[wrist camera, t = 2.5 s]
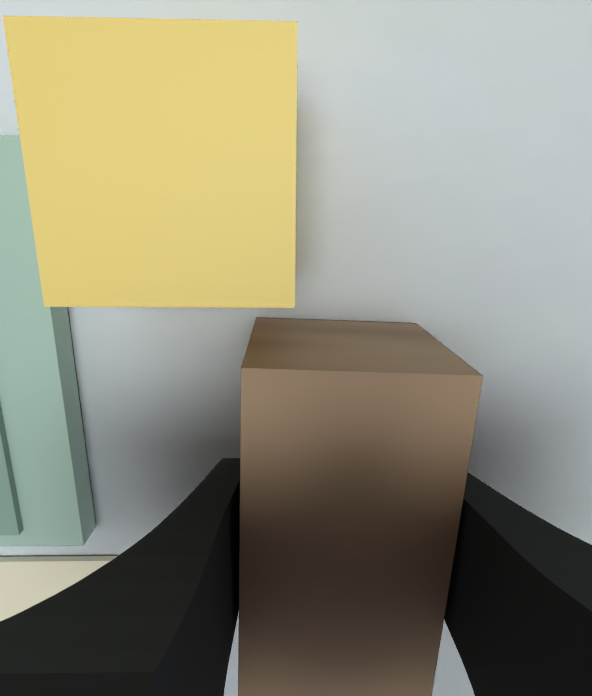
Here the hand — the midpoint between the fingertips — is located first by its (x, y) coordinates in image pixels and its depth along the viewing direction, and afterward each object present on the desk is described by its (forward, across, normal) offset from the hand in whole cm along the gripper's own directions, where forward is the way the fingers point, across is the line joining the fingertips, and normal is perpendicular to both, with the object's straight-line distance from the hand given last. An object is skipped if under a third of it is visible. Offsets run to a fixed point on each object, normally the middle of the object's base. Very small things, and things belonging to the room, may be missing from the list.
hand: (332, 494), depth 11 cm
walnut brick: (+1, 0, 0) cm, 1 cm away
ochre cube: (+2, +3, -7) cm, 8 cm away
